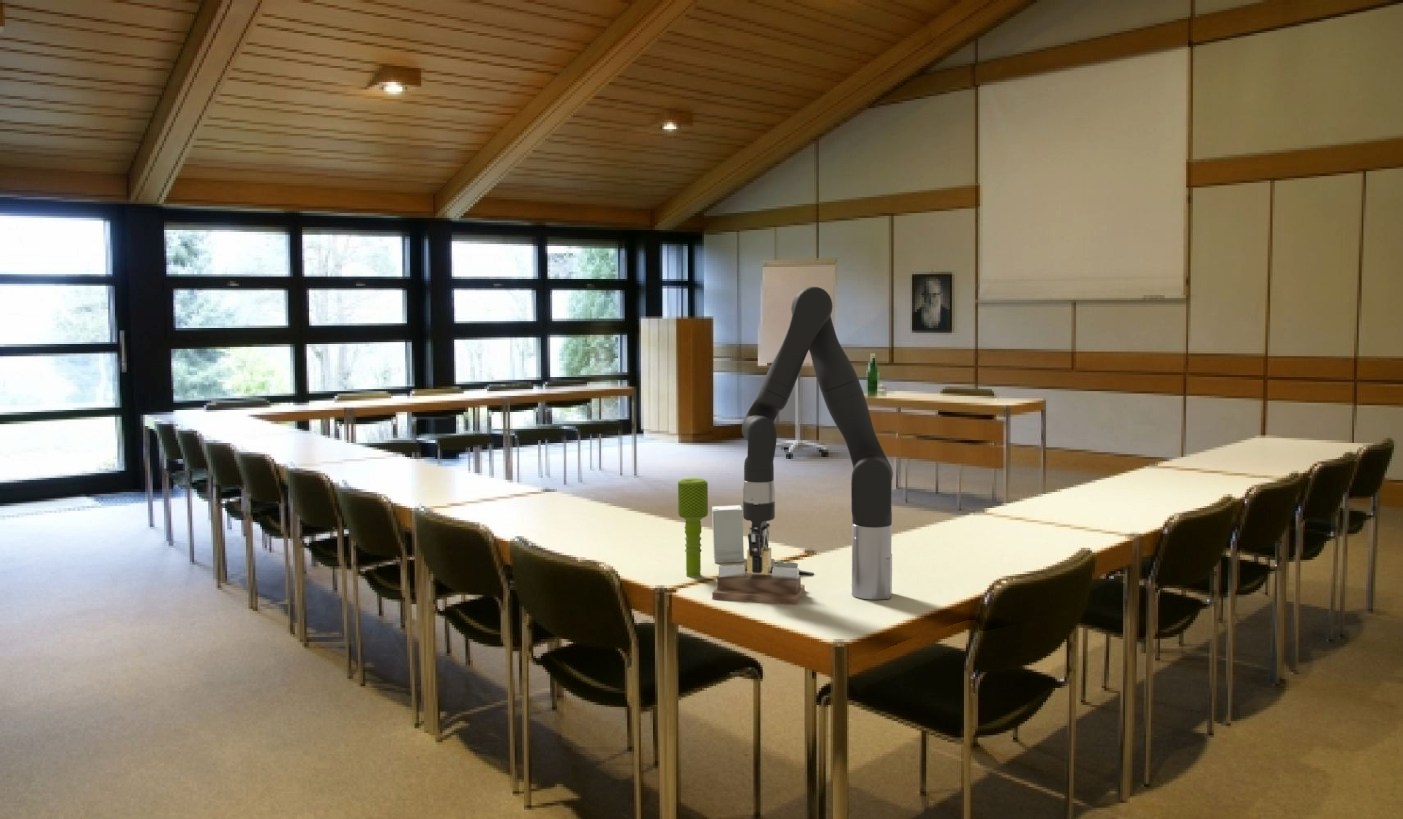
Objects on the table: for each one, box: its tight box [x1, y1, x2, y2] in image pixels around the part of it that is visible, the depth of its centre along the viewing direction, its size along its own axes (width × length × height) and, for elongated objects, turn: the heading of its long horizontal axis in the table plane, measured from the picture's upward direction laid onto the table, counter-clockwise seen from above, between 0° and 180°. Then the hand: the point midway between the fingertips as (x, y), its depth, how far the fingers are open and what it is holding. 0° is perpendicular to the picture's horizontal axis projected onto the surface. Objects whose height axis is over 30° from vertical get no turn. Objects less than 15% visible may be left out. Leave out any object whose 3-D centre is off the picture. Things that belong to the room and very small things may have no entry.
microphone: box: [677, 477, 709, 578], centre depth 259 cm, size 8×8×25 cm
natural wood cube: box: [746, 547, 772, 574], centre depth 241 cm, size 5×4×6 cm
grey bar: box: [718, 564, 800, 580], centre depth 240 cm, size 19×4×2 cm, turn 75°
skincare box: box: [711, 504, 745, 564], centre depth 275 cm, size 8×6×15 cm
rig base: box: [711, 571, 806, 605], centre depth 241 cm, size 20×12×4 cm, turn 75°
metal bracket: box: [771, 558, 815, 575], centre depth 261 cm, size 14×6×15 cm
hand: (759, 569), depth 241 cm, fingers closed on natural wood cube, 4 cm apart
